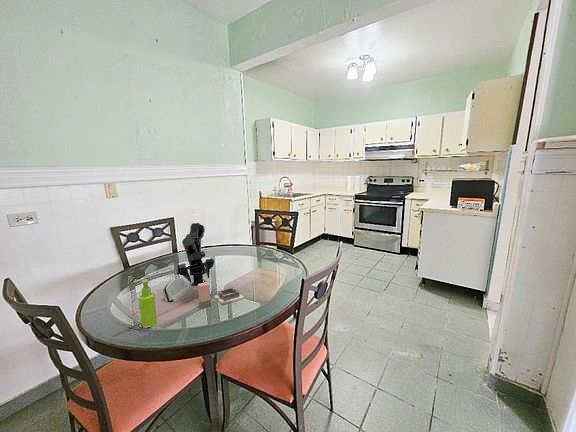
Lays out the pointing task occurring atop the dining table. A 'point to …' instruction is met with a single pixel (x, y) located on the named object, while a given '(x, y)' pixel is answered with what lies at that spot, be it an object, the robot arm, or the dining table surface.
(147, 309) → the soap dispenser
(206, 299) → the brown rectangular block
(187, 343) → the dining table surface
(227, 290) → the square socket base
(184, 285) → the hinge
